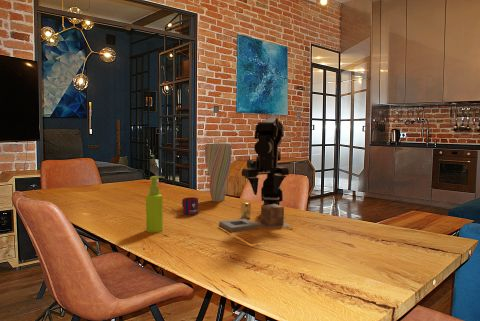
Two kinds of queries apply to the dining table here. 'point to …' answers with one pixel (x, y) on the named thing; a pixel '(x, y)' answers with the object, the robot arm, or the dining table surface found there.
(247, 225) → the socket board
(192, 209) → the mug
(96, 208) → the dining table surface
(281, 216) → the box
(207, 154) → the vase
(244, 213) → the pin
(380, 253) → the dining table surface
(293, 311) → the dining table surface
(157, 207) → the soap dispenser
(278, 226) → the board
